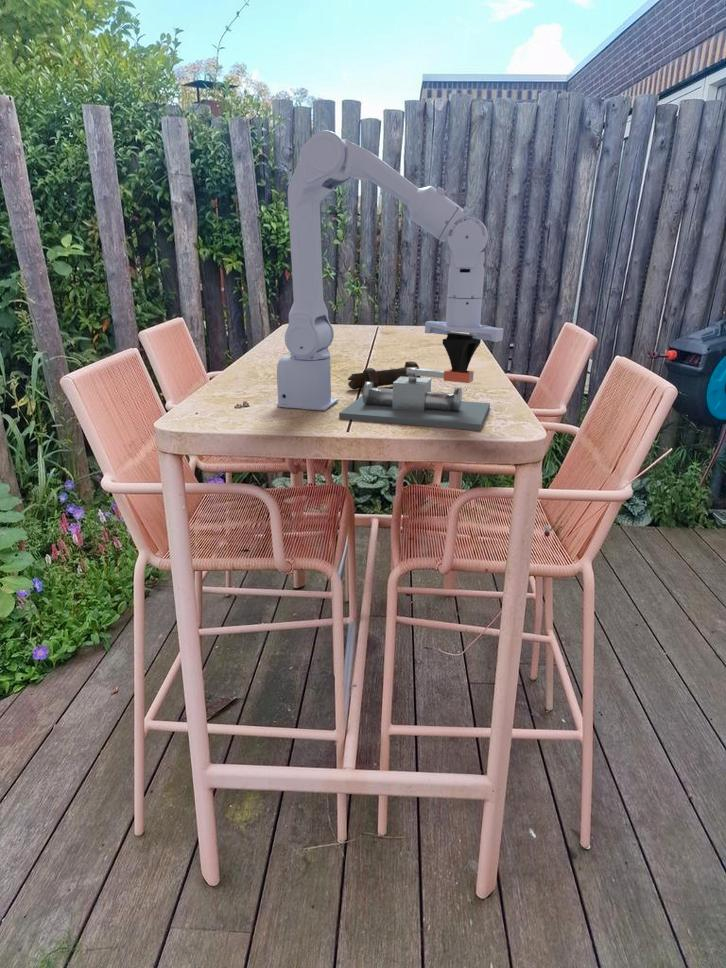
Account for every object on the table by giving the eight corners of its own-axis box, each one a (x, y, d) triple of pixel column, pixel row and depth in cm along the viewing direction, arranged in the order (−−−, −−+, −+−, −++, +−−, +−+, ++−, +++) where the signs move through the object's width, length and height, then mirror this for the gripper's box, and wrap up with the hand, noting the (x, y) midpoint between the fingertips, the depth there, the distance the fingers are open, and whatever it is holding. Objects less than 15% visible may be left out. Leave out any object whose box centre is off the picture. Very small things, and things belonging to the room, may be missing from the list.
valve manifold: (361, 407, 105) (361, 374, 103) (370, 400, 110) (370, 369, 108) (457, 415, 100) (459, 381, 98) (461, 407, 105) (463, 374, 103)
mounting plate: (339, 418, 102) (339, 412, 101) (364, 398, 115) (364, 393, 115) (480, 430, 95) (480, 424, 95) (489, 408, 109) (490, 403, 108)
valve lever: (404, 376, 103) (404, 367, 102) (409, 374, 104) (409, 365, 104) (468, 383, 98) (469, 373, 97) (472, 380, 99) (473, 371, 99)
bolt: (349, 399, 123) (413, 390, 129) (356, 391, 119) (423, 383, 124) (343, 372, 124) (407, 365, 129) (350, 364, 119) (416, 356, 124)
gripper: (414, 296, 99) (411, 376, 104) (488, 301, 90) (481, 390, 95) (440, 294, 104) (436, 371, 109) (513, 299, 94) (505, 383, 100)
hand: (459, 379), depth 102 cm, fingers closed
